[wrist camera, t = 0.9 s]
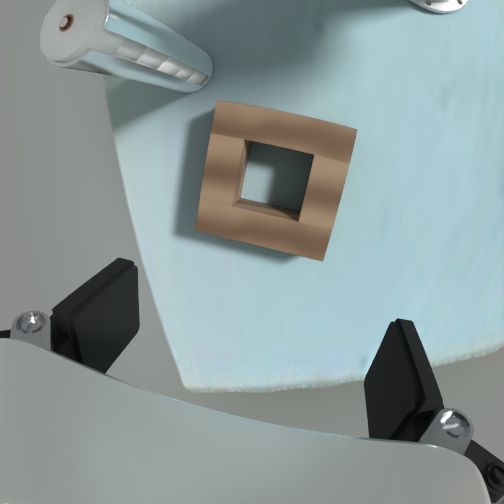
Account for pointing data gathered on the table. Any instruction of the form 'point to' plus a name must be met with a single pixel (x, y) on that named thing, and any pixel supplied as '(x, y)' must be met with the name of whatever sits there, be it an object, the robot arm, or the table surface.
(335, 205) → the socket block
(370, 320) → the table surface
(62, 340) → the robot arm
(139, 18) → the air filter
